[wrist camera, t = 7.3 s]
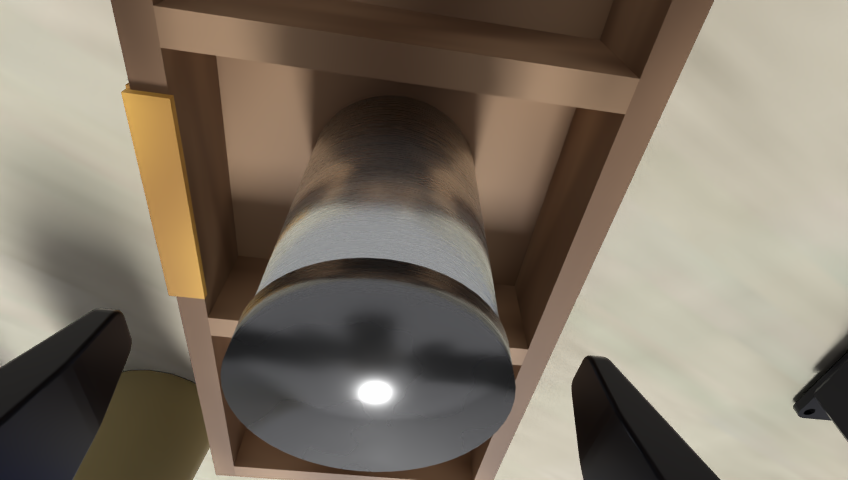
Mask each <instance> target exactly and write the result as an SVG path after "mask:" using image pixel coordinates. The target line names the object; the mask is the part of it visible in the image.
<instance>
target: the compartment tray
mask: <svg viewBox="0 0 848 480" xmlns="http://www.w3.org/2000/svg"><path fill="white" fill-rule="evenodd" d="M713 2H714V0H111V4H112V8H113V13H114V17H115V22H116V26H117V31H118V35H119V40H120V44H121V49H122V53H123V58H124V62H125V67H126V71H127V76H128V80H129V83H128V84H126V89H125V90H123V91H122V92H121V94H122V98H123V102H124V106H125V111H126V115H127V119H128V124H129V128H130V132H131V136H132V141H133V145H134V149H135V153H136V158H137V162H138V166H139V170H140V175H141V179H142V183H143V187H144V192H145V196H146V200H147V205H148V209H149V213H150V217H151V222H152V226H153V230H154V234H155V239H156V243H157V247H158V251H159V256H160V260H161V264H162V268H163V273H164V277H165V281H166V285H167V290H168V294H169V296H177V301H178V305H179V310H180V314H181V319H182V323H183V328H184V332H185V337H186V341H187V346H188V350H189V355H190V359H191V364H192V369H193V373H194V378H195V382H196V387H197V391H198V396H199V400H200V405H201V409H202V414H203V418H204V423H205V427H206V432H207V436H208V441H209V445H210V450H211V454H212V459H213V463H214V468H215V472H216V475H227V476H240V477H254V478H268V479H282V480H494V478H495V476H496V473H497V471H498V469H499V467H500V465H501V462H502V460H503V458H504V456H505V454H506V452H507V449H508V447H509V445H510V443H511V441H512V439H513V436H514V434H515V432H516V430H517V428H518V426H519V423H520V421H521V419H522V417H523V415H524V412H525V410H526V408H527V406H528V404H529V402H530V399H531V397H532V395H533V393H534V391H535V389H536V386H537V384H538V382H539V380H540V378H541V376H542V373H543V371H544V369H545V367H546V365H547V362H548V360H549V358H550V356H551V354H552V352H553V349H554V347H555V345H556V343H557V341H558V339H559V336H560V334H561V332H562V330H563V328H564V326H565V323H566V321H567V319H568V317H569V315H570V312H571V310H572V308H573V306H574V304H575V302H576V299H577V297H578V295H579V293H580V291H581V289H582V286H583V284H584V282H585V280H586V278H587V276H588V273H589V271H590V269H591V267H592V265H593V262H594V260H595V258H596V256H597V254H598V252H599V249H600V247H601V245H602V243H603V241H604V239H605V236H606V234H607V232H608V230H609V228H610V226H611V223H612V221H613V219H614V217H615V215H616V212H617V210H618V208H619V206H620V204H621V202H622V199H623V197H624V195H625V193H626V191H627V189H628V186H629V184H630V182H631V180H632V178H633V176H634V173H635V171H636V169H637V167H638V165H639V162H640V160H641V158H642V156H643V154H644V152H645V149H646V147H647V145H648V143H649V141H650V139H651V136H652V134H653V132H654V130H655V128H656V126H657V123H658V121H659V119H660V117H661V115H662V112H663V110H664V108H665V106H666V104H667V102H668V99H669V97H670V95H671V93H672V91H673V89H674V86H675V84H676V82H677V80H678V78H679V76H680V73H681V71H682V69H683V67H684V65H685V63H686V60H687V58H688V56H689V54H690V52H691V49H692V47H693V45H694V43H695V41H696V39H697V36H698V34H699V32H700V30H701V28H702V26H703V23H704V21H705V19H706V17H707V15H708V13H709V10H710V8H711V6H712V4H713ZM389 95H393V96H404V97H409V98H414V99H417V100H420V101H423V102H425V103H427V104H430V105H432V106H434V107H436V108H437V109H439V110H440V111H442V112H443V113H445V114H446V115H447V116H448V117H449V118H450V119H451V120H453V121H454V123H455V124H456V125H457V126H458V127H459V128H460V130H461V131H462V133H463V134H464V136H465V137H466V140H467V142H468V144H469V146H470V149H471V153H472V156H473V162H474V168H475V175H476V181H477V187H478V193H479V199H480V205H481V211H482V217H483V223H484V230H485V236H486V242H487V248H488V254H489V260H490V266H491V272H492V278H493V285H494V291H495V297H496V303H497V309H498V315H499V320H500V321H501V323H502V325H503V327H504V329H505V332H506V335H507V338H508V342H509V348H510V354H511V359H512V365H513V371H514V377H515V385H516V391H515V400H514V403H513V406H512V410H511V412H510V414H509V415H508V417H507V419H506V421H505V422H504V423H503V425H502V426H501V427H500V428H499V430H498V431H497V432H496V433H495V434H494V435H493V436H491V437H490V438H489V439H488V440H487V441H485V442H484V443H482V444H481V445H480V446H478V447H477V448H475V449H473V450H471V451H469V452H468V453H466V454H464V455H461V456H459V457H457V458H454V459H452V460H449V461H446V462H443V463H440V464H436V465H432V466H428V467H424V468H418V469H412V470H403V471H393V472H367V471H354V470H345V469H339V468H333V467H328V466H324V465H320V464H316V463H312V462H309V461H306V460H303V459H300V458H297V457H295V456H292V455H290V454H288V453H285V452H283V451H281V450H279V449H277V448H275V447H273V446H271V445H270V444H268V443H267V442H265V441H263V440H262V439H260V438H259V437H257V436H256V435H255V434H254V433H252V432H251V431H250V430H249V429H248V428H247V427H246V426H245V425H244V424H243V423H242V422H241V421H240V420H239V419H238V418H237V417H236V415H235V414H234V413H233V411H232V410H231V408H230V407H229V405H228V403H227V401H226V399H225V397H224V393H223V389H222V386H221V367H222V361H223V358H224V356H225V353H226V351H227V348H228V346H229V343H230V341H231V339H232V336H233V334H234V331H235V329H236V327H237V324H238V322H239V319H240V317H241V314H242V313H243V311H244V309H245V308H246V306H247V305H248V303H249V302H250V301H251V300H252V299H253V298H254V297H255V295H256V292H257V290H258V287H259V285H260V282H261V280H262V277H263V275H264V272H265V270H266V267H267V265H268V262H269V260H270V257H271V255H272V252H273V250H274V247H275V245H276V242H277V240H278V237H279V235H280V232H281V230H282V227H283V225H284V222H285V220H286V217H287V215H288V212H289V210H290V207H291V205H292V202H293V200H294V197H295V195H296V192H297V190H298V187H299V185H300V182H301V180H302V177H303V175H304V172H305V170H306V167H307V165H308V162H309V160H310V157H311V155H312V152H313V150H314V147H315V145H316V142H317V140H318V137H319V135H320V133H321V132H322V130H323V128H324V127H325V126H326V124H327V123H328V122H329V121H330V120H331V119H332V118H333V117H334V116H335V115H336V114H337V113H338V112H340V111H341V110H343V109H344V108H346V107H347V106H349V105H351V104H353V103H355V102H358V101H361V100H364V99H367V98H371V97H377V96H389Z"/></svg>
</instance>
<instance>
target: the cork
mask: <svg viewBox="0 0 848 480" xmlns="http://www.w3.org/2000/svg"><path fill="white" fill-rule="evenodd" d="M209 448H210V445H209V441H208V436H207V432H206V427H205V423H204V418H203V414H202V409H201V405H200V400H199V396H198V391H197V387H196V384H195V383H193V382H191V381H189V380H186V379H183V378H181V377H178V376H175V375H172V374H168V373H162V372H157V371H151V370H133V371H125V372H122V373H121V376H120V378H119V381H118V384H117V386H116V389H115V391H114V394H113V396H112V399H111V401H110V404H109V407H108V409H107V412H106V414H105V417H104V419H103V421H102V424H101V426H100V428H99V430H98V432H97V434H96V436H95V438H94V440H93V442H92V444H91V446H90V448H89V450H88V452H87V453H86V455H85V457H84V459H83V461H82V463H81V465H80V467H79V469H78V471H77V473H76V474H75V476H74V478H73V480H193V478H194V476H195V474H196V472H197V471H198V469H199V467H200V465H201V463H202V461H203V459H204V457H205V455H206V454H207V452H208V450H209Z"/></svg>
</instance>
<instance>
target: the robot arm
mask: <svg viewBox="0 0 848 480" xmlns="http://www.w3.org/2000/svg"><path fill="white" fill-rule="evenodd" d="M131 344H132V341H131V336H130V333H129V330H128V327H127V324H126V321H125V317H124V315H123V313H122V312H121V311H120V310H114V309H104V308H98V309H95V310H92V311H91V312H89V313H87V314H86V315H84V316H83V317H81V318H79V319H78V320H76V321H75V322H73V323H71V324H70V325H68V326H66V327H65V328H63V329H62V330H60V331H58V332H57V333H55V334H54V335H52V336H50V337H49V338H47V339H46V340H44V341H42V342H41V343H39V344H38V345H36V346H34V347H33V348H31V349H29V350H28V351H26V352H25V353H23V354H21V355H20V356H18V357H17V358H15V359H13V360H12V361H10V362H9V363H7V364H5V365H4V366H2V367H0V480H73V478H74V476H75V474H76V473H77V471H78V469H79V467H80V465H81V463H82V461H83V459H84V457H85V455H86V453H87V452H88V450H89V448H90V446H91V444H92V442H93V440H94V438H95V436H96V434H97V432H98V430H99V428H100V426H101V424H102V421H103V419H104V417H105V414H106V412H107V409H108V407H109V404H110V401H111V399H112V396H113V394H114V391H115V389H116V386H117V384H118V381H119V378H120V376H121V373H122V371H123V368H124V366H125V363H126V361H127V358H128V355H129V353H130V350H131ZM572 400H573V408H574V417H575V425H576V434H577V443H578V451H579V458H580V465H581V470H582V475H583V479H584V480H720V479H719V478H718V477H717V476H716V474H715V473H714V472H713V471H712V470H711V469H710V468H709V467H708V466H707V465H706V464H705V463H704V461H703V460H702V459H701V458H700V457H699V456H698V455H697V454H696V453H695V452H694V451H693V450H692V448H691V447H690V446H689V445H688V444H687V443H686V442H685V441H684V440H683V439H682V438H681V437H680V435H679V434H678V433H677V432H676V431H675V430H674V429H673V428H672V427H671V426H670V425H669V424H668V423H667V421H666V420H665V419H664V418H663V417H662V416H661V415H660V414H659V413H658V412H657V411H656V410H655V408H654V407H653V406H652V405H651V404H650V403H649V402H648V401H647V400H646V399H645V398H644V397H643V395H642V394H641V393H640V392H639V391H638V390H637V389H636V388H635V387H634V386H633V385H632V384H631V382H630V381H629V380H628V379H627V378H626V377H625V376H624V375H623V374H622V373H621V372H620V371H619V369H618V368H617V367H616V366H615V365H614V364H613V363H612V362H611V361H610V360H609V359H608V358H606V357H600V356H587V357H585V358H584V360H583V361H582V363H581V365H580V367H579V369H578V371H577V373H576V375H575V377H574V379H573V381H572ZM793 409H794V410H795V411H796V413H797V414H798V416H799V417H802V418H810V419H821V420H832V421H833V423H834V424H835V425H836V427H837V428H838V429H839V431H840V432H841V433H842V435H843V436H844V438H845V439H846V440H847V442H848V352H847V353H846V354H845V355H844V356H843V357H842V358H841V359H840V360H839V361H838V362H837V363H836V364H835V365H834V366H833V367H832V368H831V369H830V370H829V371H828V372H827V373H826V374H825V375H824V376H823V377H821V378H820V379H819V380H818V381H817V382H816V383H815V384H814V385H813V386H812V387H811V388H810V389H809V390H808V391H807V392H806V393H805V394H804V395H803V396H802V397H801V398H800V399H799V400H798V401H797V402H796V403H795V404H794V406H793Z"/></svg>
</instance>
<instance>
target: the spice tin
mask: <svg viewBox="0 0 848 480" xmlns="http://www.w3.org/2000/svg"><path fill="white" fill-rule="evenodd" d="M221 386H222V389H223V393H224V397H225V399H226V401H227V403H228V405H229V407H230V408H231V410H232V411H233V413H234V414H235V415H236V417H237V418H238V419H239V420H240V421H241V422H242V423H243V424H244V425H245V426H246V427H247V428H248V429H249V430H250V431H251V432H252V433H254V434H255V435H256V436H257V437H259V438H260V439H262V440H263V441H265V442H267V443H268V444H270V445H271V446H273V447H275V448H277V449H279V450H281V451H283V452H285V453H288V454H290V455H292V456H295V457H297V458H300V459H303V460H306V461H309V462H312V463H316V464H320V465H324V466H328V467H333V468H339V469H345V470H354V471H367V472H393V471H403V470H412V469H418V468H424V467H428V466H432V465H436V464H440V463H443V462H446V461H449V460H452V459H454V458H457V457H459V456H461V455H464V454H466V453H468V452H469V451H471V450H473V449H475V448H477V447H478V446H480V445H481V444H482V443H484V442H485V441H487V440H488V439H489V438H490V437H491V436H493V435H494V434H495V433H496V432H497V431H498V430H499V428H500V427H501V426H502V425H503V423H504V422H505V421H506V419H507V417H508V415H509V414H510V412H511V410H512V406H513V403H514V400H515V391H516V385H515V377H514V371H513V365H512V359H511V354H510V348H509V342H508V338H507V335H506V332H505V329H504V327H503V325H502V323H501V321H500V320H499V315H498V309H497V303H496V297H495V291H494V285H493V278H492V272H491V266H490V260H489V254H488V248H487V242H486V236H485V230H484V223H483V217H482V211H481V205H480V199H479V193H478V187H477V181H476V175H475V168H474V162H473V156H472V153H471V149H470V146H469V144H468V142H467V140H466V137H465V136H464V134H463V133H462V131H461V130H460V128H459V127H458V126H457V125H456V124H455V123H454V121H453V120H451V119H450V118H449V117H448V116H447V115H446V114H445V113H443V112H442V111H440V110H439V109H437V108H436V107H434V106H432V105H430V104H427V103H425V102H423V101H420V100H417V99H414V98H409V97H404V96H393V95H389V96H377V97H371V98H367V99H364V100H361V101H358V102H355V103H353V104H351V105H349V106H347V107H346V108H344V109H343V110H341V111H340V112H338V113H337V114H336V115H335V116H334V117H333V118H332V119H331V120H330V121H329V122H328V123H327V124H326V126H325V127H324V128H323V130H322V132H321V133H320V135H319V137H318V140H317V142H316V145H315V147H314V150H313V152H312V155H311V157H310V160H309V162H308V165H307V167H306V170H305V172H304V175H303V177H302V180H301V182H300V185H299V187H298V190H297V192H296V195H295V197H294V200H293V202H292V205H291V207H290V210H289V212H288V215H287V217H286V220H285V222H284V225H283V227H282V230H281V232H280V235H279V237H278V240H277V242H276V245H275V247H274V250H273V252H272V255H271V257H270V260H269V262H268V265H267V267H266V270H265V272H264V275H263V277H262V280H261V282H260V285H259V287H258V290H257V292H256V295H255V297H254V298H253V299H252V300H251V301H250V302H249V303H248V305H247V306H246V308H245V309H244V311H243V313H242V314H241V317H240V319H239V322H238V324H237V327H236V329H235V331H234V334H233V336H232V339H231V341H230V343H229V346H228V348H227V351H226V353H225V356H224V358H223V361H222V367H221Z"/></svg>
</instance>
